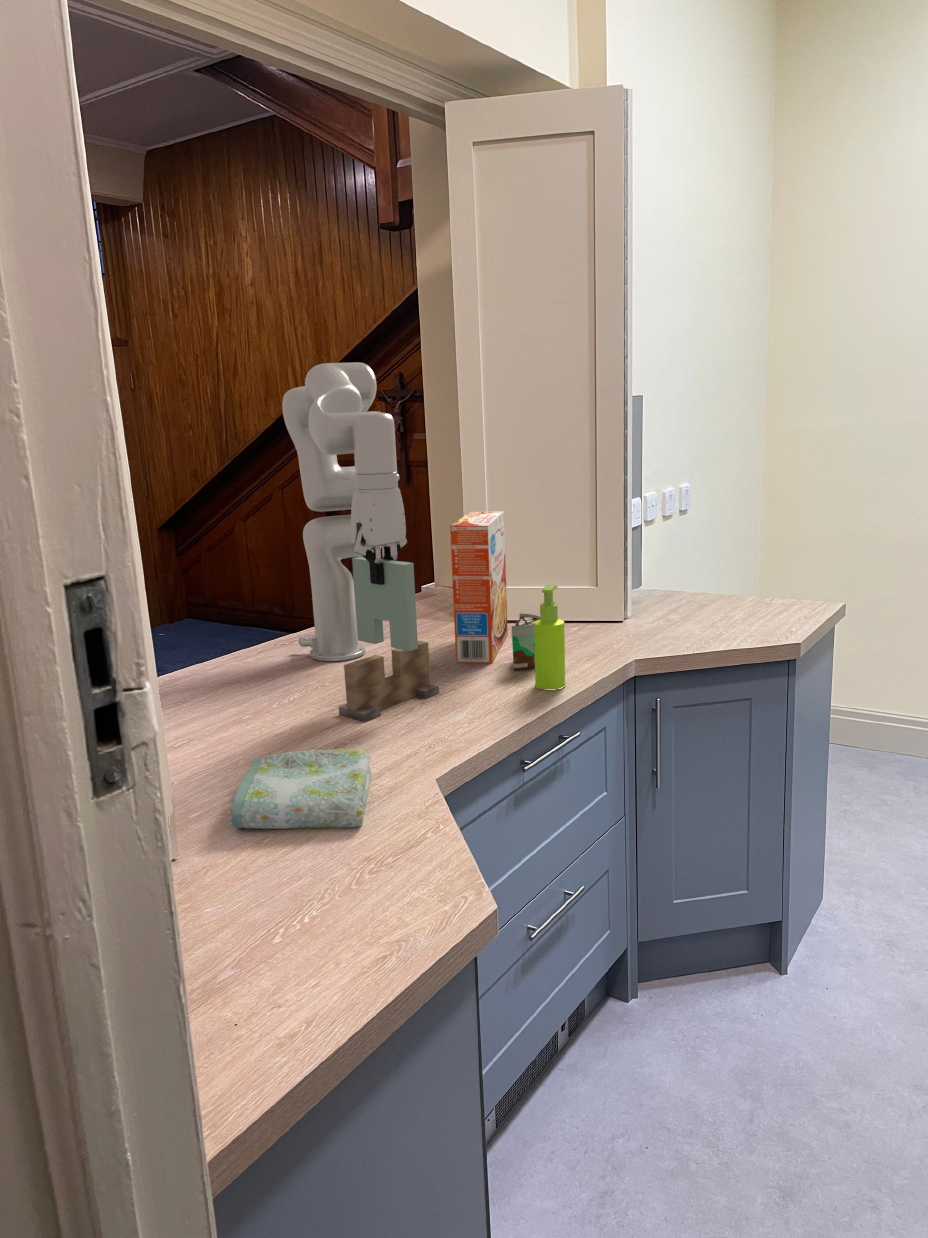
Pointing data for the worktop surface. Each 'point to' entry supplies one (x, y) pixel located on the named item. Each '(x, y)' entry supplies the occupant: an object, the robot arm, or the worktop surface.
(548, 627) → the soap dispenser
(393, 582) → the sage slotted plate
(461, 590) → the cereal box
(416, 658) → the walnut slotted board
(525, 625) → the food container
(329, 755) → the towel
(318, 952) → the worktop surface
